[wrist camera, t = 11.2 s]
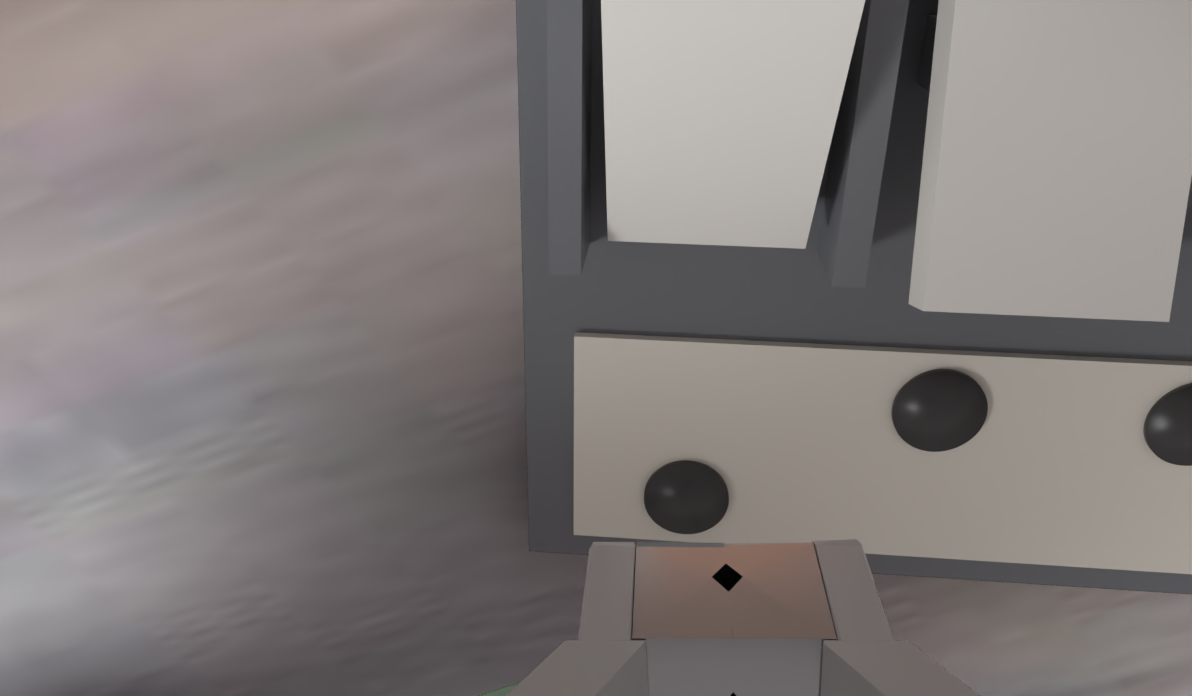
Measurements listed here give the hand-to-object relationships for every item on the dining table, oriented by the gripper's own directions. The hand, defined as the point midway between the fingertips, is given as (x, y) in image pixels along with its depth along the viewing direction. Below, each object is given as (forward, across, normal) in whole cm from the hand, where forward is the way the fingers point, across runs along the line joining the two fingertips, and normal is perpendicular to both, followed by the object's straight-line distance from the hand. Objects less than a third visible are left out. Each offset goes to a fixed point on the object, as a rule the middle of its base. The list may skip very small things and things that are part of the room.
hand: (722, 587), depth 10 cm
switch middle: (+12, -8, -4) cm, 14 cm away
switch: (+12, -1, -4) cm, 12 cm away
